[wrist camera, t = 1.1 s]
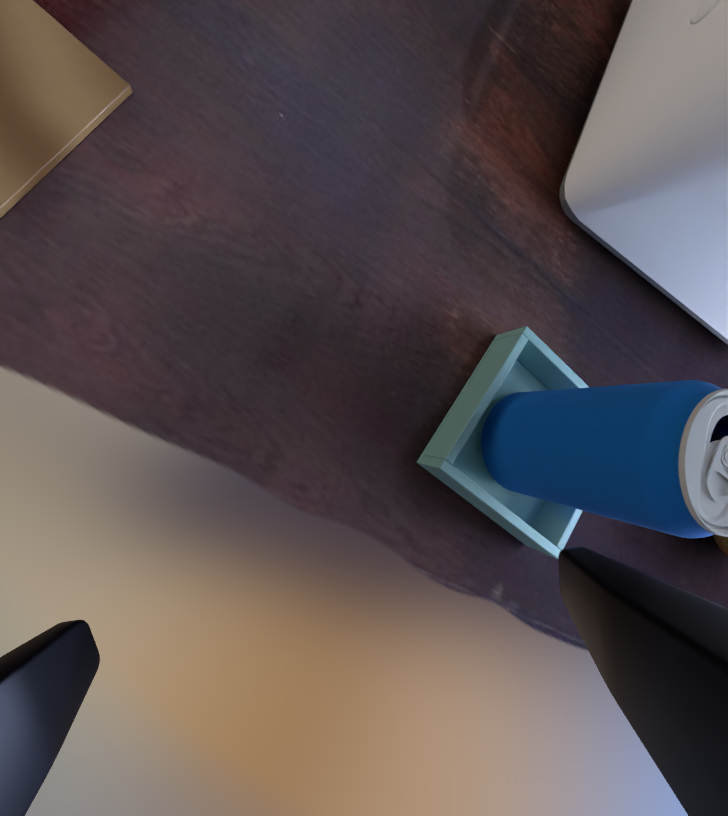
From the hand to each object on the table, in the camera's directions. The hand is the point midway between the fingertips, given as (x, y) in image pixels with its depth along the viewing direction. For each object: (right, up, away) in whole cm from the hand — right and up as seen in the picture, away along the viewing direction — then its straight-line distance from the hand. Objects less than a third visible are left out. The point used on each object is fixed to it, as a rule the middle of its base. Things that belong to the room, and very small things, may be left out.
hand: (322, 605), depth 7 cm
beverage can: (+11, +1, +19) cm, 22 cm away
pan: (+11, +1, +19) cm, 22 cm away
